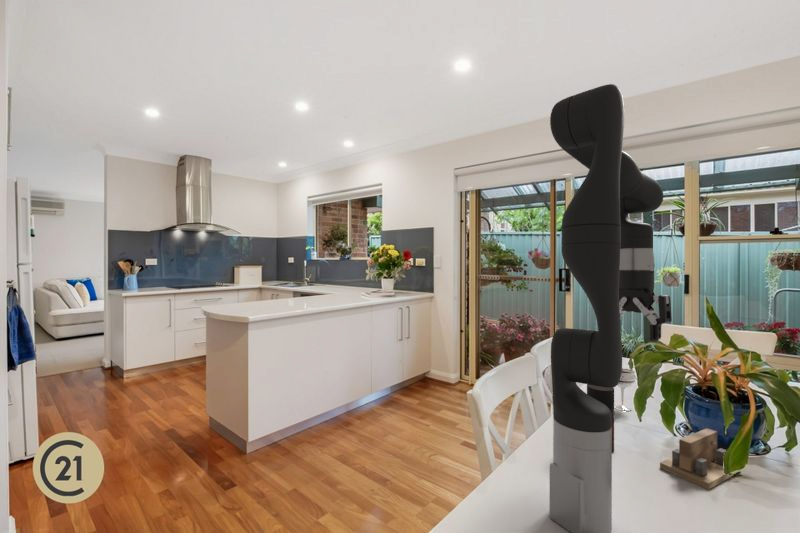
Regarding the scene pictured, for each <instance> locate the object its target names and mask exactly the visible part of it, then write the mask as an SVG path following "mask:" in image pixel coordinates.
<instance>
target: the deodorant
mask: <svg viewBox="0 0 800 533" xmlns="http://www.w3.org/2000/svg"><path fill="white" fill-rule="evenodd" d="M586 394H587V395H589V396H591V397H592V398H594V399H596V400H598V401H599V402H601V403H603V404H604V405H606V406H607V407H608V408H609V409H610V411H611V414H612V454H613V453H615V408H614V406H615V387H613V388H607V387H600V386H594V385H589V384H586Z"/></svg>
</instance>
